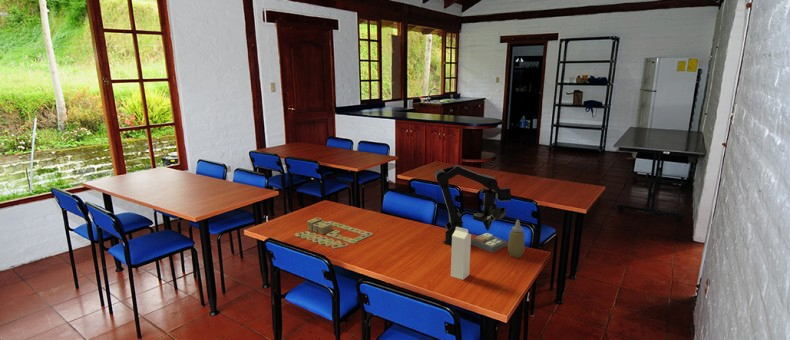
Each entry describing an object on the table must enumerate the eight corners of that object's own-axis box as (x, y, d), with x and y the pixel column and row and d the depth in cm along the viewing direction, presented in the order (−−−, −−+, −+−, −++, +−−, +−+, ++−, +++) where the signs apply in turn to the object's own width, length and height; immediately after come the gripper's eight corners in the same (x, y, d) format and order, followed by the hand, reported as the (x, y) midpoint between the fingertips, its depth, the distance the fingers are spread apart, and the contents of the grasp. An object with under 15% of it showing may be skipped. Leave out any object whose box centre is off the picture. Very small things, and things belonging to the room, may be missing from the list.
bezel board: (492, 252, 207) (492, 247, 206) (470, 244, 216) (470, 239, 216) (506, 245, 215) (507, 241, 214) (485, 238, 224) (485, 233, 224)
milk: (457, 271, 188) (458, 224, 183) (469, 275, 185) (471, 227, 180) (450, 276, 183) (452, 228, 178) (462, 280, 180) (464, 231, 175)
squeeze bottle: (515, 260, 199) (517, 224, 194) (503, 253, 206) (505, 218, 201) (527, 256, 202) (530, 221, 198) (515, 250, 209) (518, 216, 205)
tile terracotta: (481, 242, 213) (481, 239, 212) (475, 240, 216) (475, 236, 215) (486, 240, 215) (486, 237, 215) (480, 238, 218) (480, 234, 218)
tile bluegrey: (497, 246, 212) (497, 242, 212) (491, 243, 215) (491, 240, 214) (502, 244, 215) (502, 240, 214) (495, 241, 218) (496, 238, 217)
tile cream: (491, 249, 209) (491, 245, 208) (484, 246, 212) (485, 242, 211) (496, 246, 211) (496, 243, 211) (489, 244, 214) (489, 240, 214)
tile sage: (487, 240, 216) (488, 236, 216) (481, 237, 219) (481, 234, 219) (492, 238, 219) (492, 234, 218) (486, 236, 222) (486, 232, 221)
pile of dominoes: (292, 236, 228) (291, 226, 227) (327, 222, 249) (327, 213, 248) (339, 252, 208) (339, 242, 207) (373, 235, 230) (373, 225, 229)
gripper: (491, 208, 202) (489, 239, 206) (513, 201, 214) (511, 230, 218) (472, 203, 210) (471, 232, 214) (495, 196, 222) (493, 224, 226)
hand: (487, 230), depth 218 cm, fingers closed
